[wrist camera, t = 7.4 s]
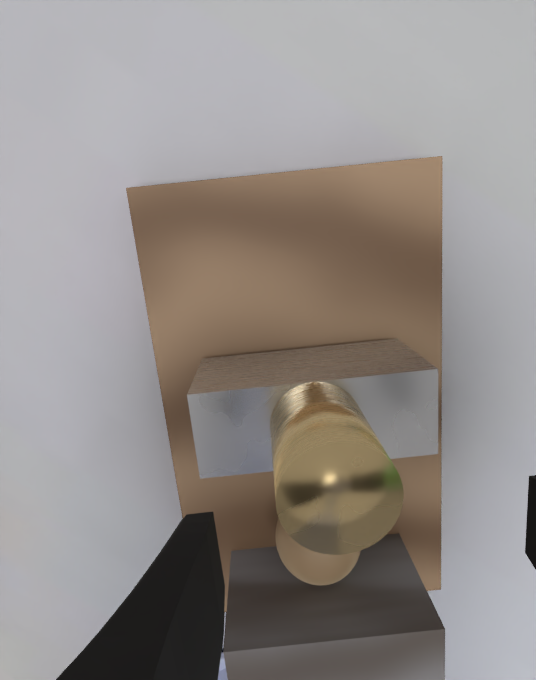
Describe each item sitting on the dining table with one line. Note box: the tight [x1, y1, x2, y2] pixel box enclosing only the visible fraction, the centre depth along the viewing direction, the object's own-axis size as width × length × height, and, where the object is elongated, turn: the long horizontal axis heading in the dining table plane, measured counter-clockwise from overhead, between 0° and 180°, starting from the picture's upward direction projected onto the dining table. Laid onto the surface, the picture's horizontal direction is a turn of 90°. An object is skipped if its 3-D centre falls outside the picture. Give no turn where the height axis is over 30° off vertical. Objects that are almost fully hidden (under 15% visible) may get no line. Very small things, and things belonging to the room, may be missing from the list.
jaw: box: [187, 339, 438, 555], centre depth 14 cm, size 3×8×8 cm, turn 96°
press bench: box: [126, 156, 445, 680], centre depth 17 cm, size 20×12×6 cm, turn 6°
